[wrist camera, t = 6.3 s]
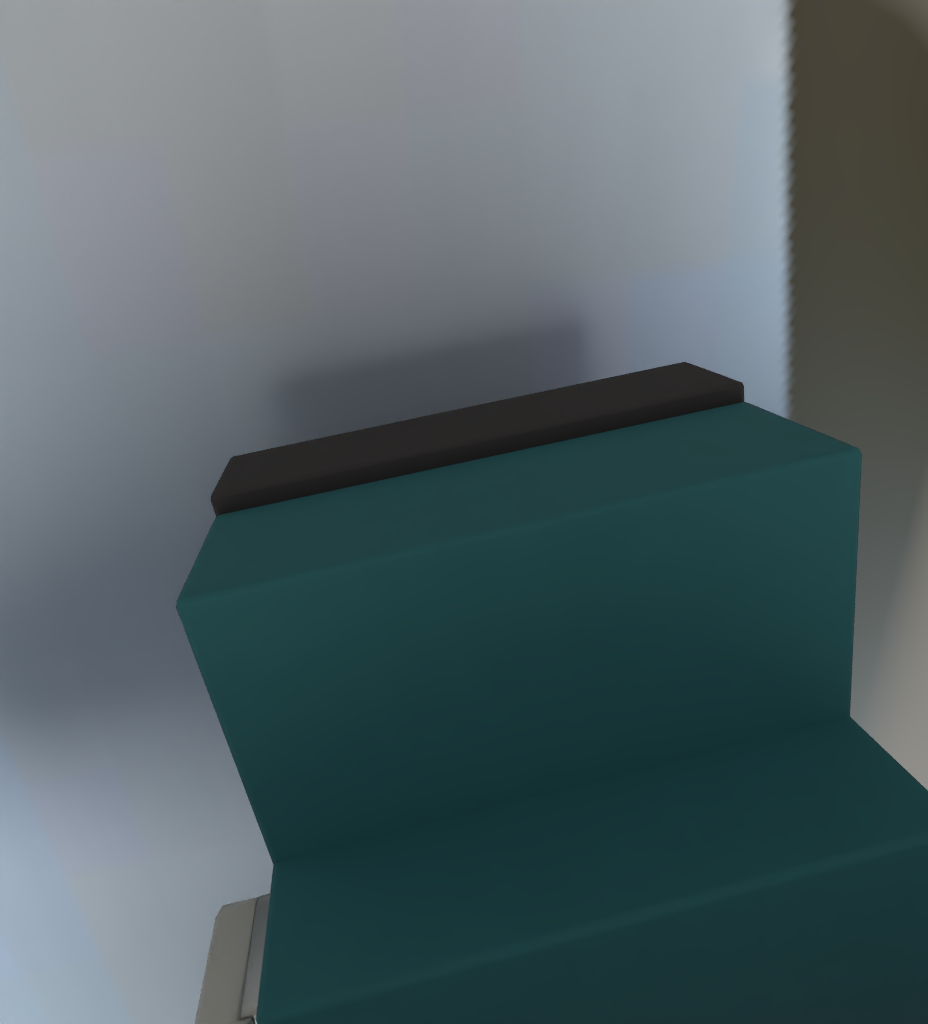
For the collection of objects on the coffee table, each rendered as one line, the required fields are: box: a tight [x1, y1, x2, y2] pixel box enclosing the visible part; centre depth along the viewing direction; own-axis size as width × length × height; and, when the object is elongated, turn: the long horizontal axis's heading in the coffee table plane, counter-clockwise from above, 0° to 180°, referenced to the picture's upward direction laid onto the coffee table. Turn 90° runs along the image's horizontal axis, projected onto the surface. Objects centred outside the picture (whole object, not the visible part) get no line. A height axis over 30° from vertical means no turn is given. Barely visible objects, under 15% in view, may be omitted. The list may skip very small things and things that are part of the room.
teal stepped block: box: [176, 362, 928, 1024], centre depth 9 cm, size 12×6×5 cm, turn 10°
